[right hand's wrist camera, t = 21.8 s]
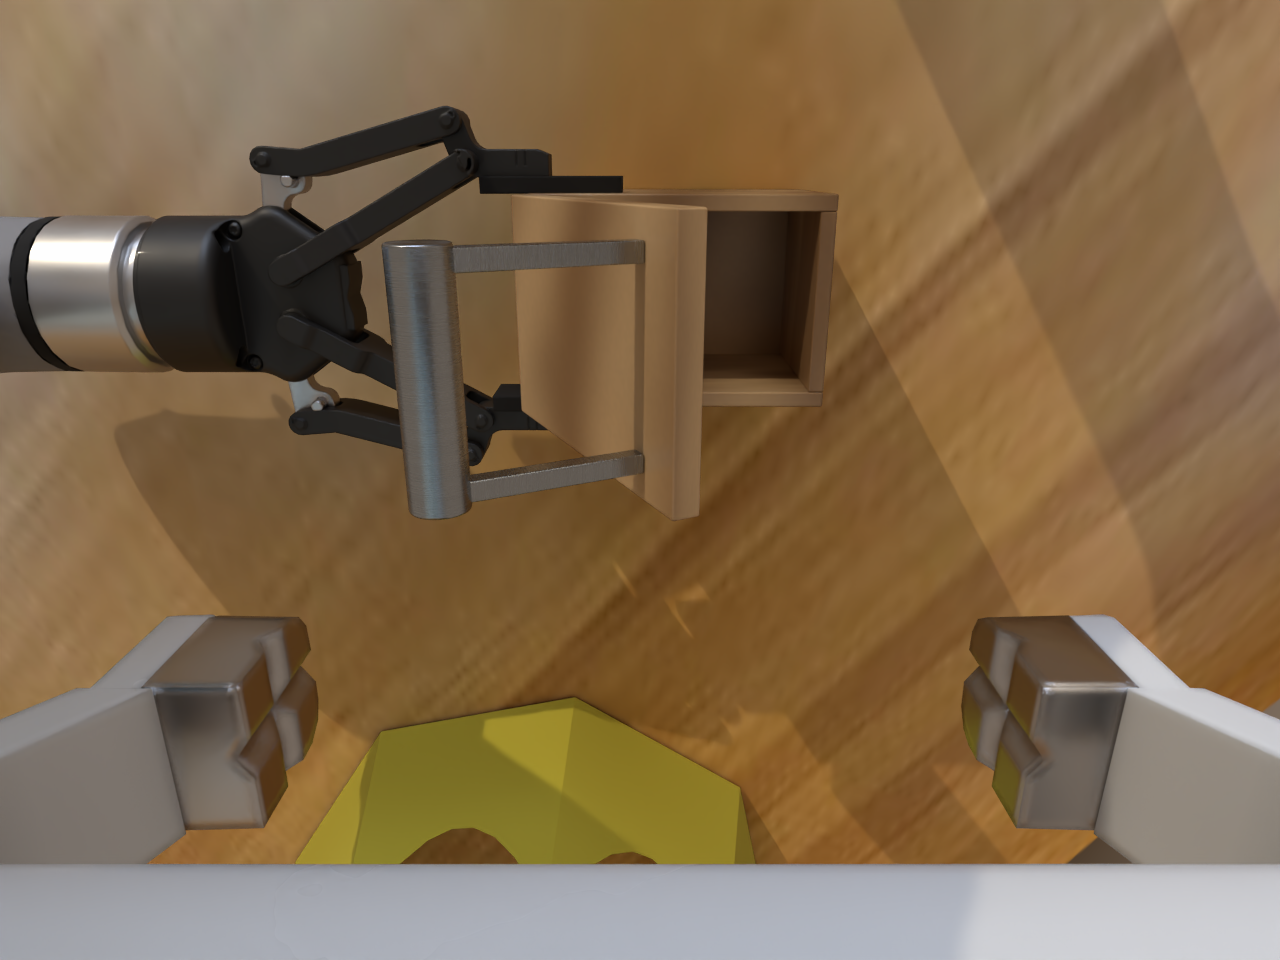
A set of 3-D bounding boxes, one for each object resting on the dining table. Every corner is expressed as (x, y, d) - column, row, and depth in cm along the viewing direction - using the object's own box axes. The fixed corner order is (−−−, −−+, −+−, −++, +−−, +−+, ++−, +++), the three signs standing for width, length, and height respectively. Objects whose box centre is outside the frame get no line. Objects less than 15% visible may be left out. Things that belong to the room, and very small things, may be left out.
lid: (708, 206, 24) (396, 213, 20) (700, 516, 27) (430, 570, 24) (532, 194, 36) (319, 196, 33) (541, 408, 40) (348, 432, 36)
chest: (800, 189, 46) (839, 194, 37) (789, 363, 49) (821, 407, 40) (547, 189, 46) (523, 194, 37) (553, 363, 49) (533, 406, 40)
